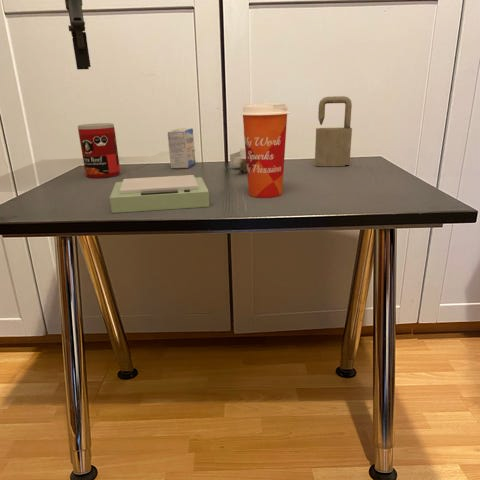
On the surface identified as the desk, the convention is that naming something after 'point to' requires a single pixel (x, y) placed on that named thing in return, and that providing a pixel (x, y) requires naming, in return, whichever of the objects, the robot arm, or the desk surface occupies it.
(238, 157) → the bunny figurine
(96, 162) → the canned food
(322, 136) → the padlock
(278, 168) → the coffee cup
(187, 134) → the medicine box
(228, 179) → the desk surface
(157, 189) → the scale
